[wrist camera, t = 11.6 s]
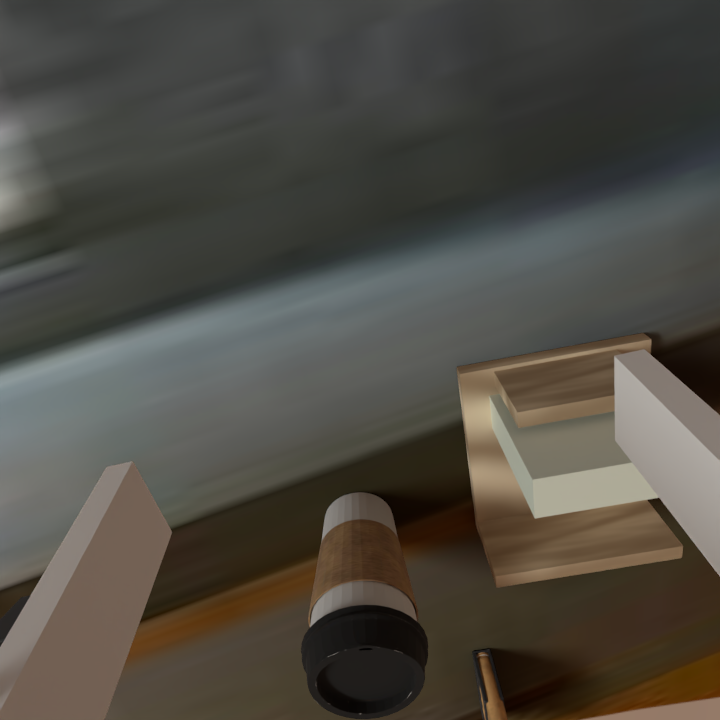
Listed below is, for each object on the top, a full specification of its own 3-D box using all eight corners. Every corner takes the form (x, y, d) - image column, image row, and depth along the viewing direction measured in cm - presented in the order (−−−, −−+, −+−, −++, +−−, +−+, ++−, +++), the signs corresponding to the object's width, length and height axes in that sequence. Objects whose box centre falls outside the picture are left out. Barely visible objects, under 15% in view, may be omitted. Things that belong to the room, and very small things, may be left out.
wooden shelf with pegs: (456, 366, 40) (478, 415, 34) (642, 332, 40) (700, 375, 33) (476, 525, 47) (497, 590, 41) (635, 498, 46) (681, 560, 40)
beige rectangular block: (489, 395, 40) (532, 479, 31) (622, 371, 40) (706, 449, 31) (492, 428, 41) (534, 518, 32) (621, 405, 41) (701, 490, 32)
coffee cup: (408, 477, 45) (437, 639, 31) (405, 552, 48) (431, 726, 35) (307, 481, 44) (293, 645, 31) (313, 556, 48) (302, 732, 35)
